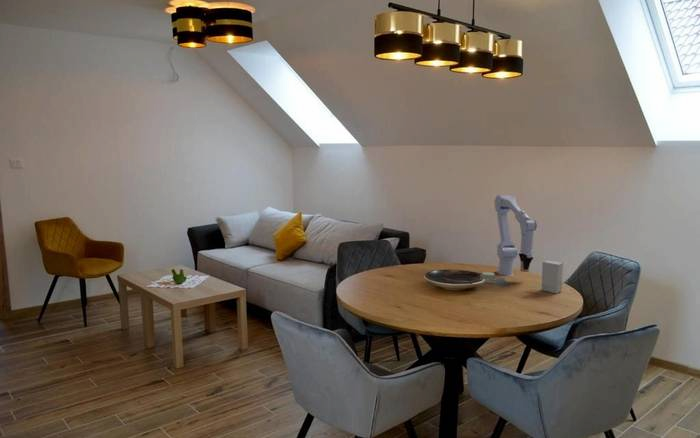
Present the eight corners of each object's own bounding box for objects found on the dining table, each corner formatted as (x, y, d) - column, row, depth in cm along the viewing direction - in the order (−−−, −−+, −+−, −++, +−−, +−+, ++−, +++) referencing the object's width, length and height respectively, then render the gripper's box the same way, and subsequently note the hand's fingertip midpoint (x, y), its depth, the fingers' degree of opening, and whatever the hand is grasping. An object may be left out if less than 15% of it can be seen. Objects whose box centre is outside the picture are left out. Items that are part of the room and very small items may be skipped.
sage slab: (481, 275, 281) (481, 271, 280) (492, 276, 280) (493, 272, 280) (483, 278, 275) (483, 274, 274) (495, 279, 274) (495, 275, 274)
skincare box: (561, 292, 264) (564, 262, 262) (556, 294, 260) (558, 264, 258) (545, 288, 270) (548, 259, 268) (539, 290, 266) (542, 261, 264)
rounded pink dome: (519, 269, 281) (519, 260, 280) (527, 270, 281) (528, 261, 280) (521, 271, 277) (521, 262, 276) (529, 272, 276) (530, 262, 275)
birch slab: (479, 279, 282) (480, 275, 281) (493, 279, 281) (493, 276, 281) (482, 282, 275) (482, 278, 274) (495, 283, 274) (496, 279, 274)
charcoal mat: (466, 277, 287) (466, 276, 286) (504, 279, 285) (504, 278, 285) (470, 285, 271) (470, 284, 271) (510, 287, 269) (510, 286, 269)
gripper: (538, 246, 269) (536, 272, 271) (531, 240, 283) (529, 265, 285) (524, 245, 269) (522, 271, 271) (517, 239, 284) (515, 264, 286)
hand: (524, 268), depth 278 cm, fingers closed on rounded pink dome, 4 cm apart
